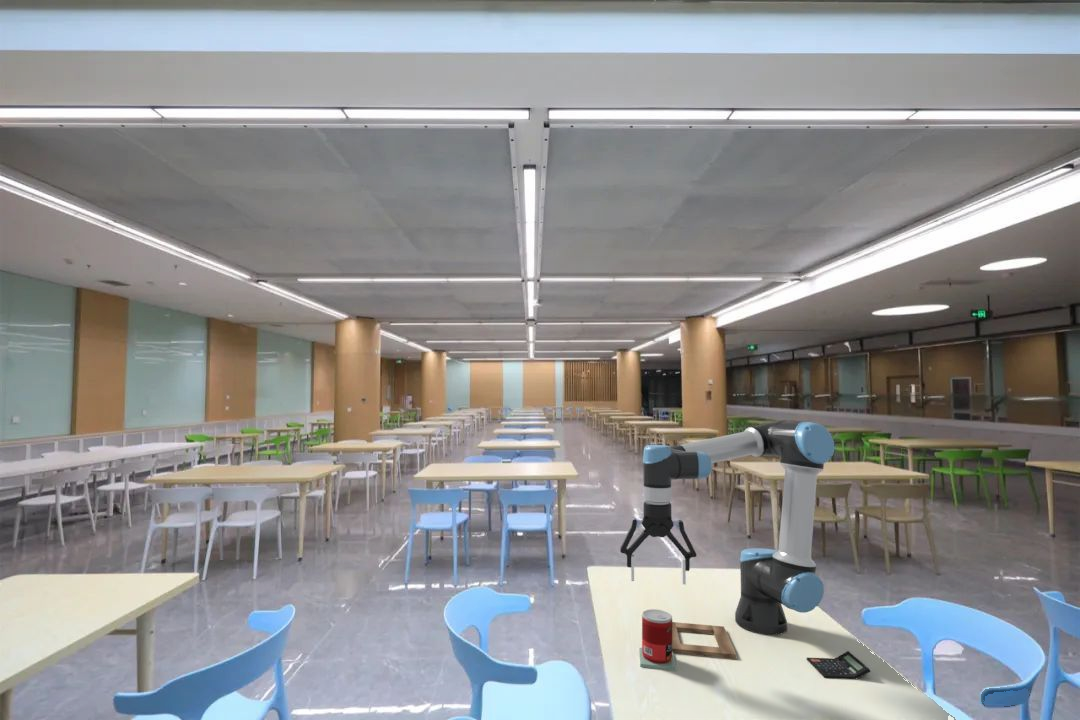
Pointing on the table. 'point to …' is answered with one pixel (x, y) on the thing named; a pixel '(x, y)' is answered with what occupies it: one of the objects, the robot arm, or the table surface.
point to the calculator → (840, 666)
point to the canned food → (657, 636)
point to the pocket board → (721, 652)
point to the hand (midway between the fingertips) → (658, 581)
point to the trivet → (648, 664)
